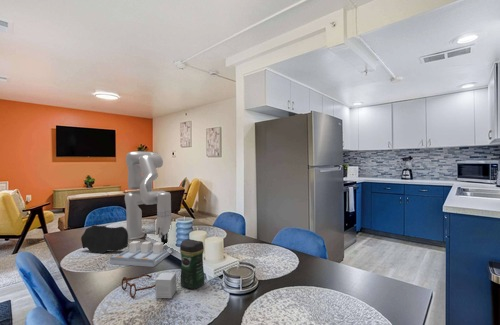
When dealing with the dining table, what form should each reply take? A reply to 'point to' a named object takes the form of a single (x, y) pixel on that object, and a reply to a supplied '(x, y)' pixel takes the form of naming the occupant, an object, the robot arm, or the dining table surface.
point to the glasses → (135, 285)
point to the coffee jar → (192, 263)
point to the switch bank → (139, 258)
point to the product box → (165, 285)
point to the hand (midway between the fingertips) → (164, 245)
